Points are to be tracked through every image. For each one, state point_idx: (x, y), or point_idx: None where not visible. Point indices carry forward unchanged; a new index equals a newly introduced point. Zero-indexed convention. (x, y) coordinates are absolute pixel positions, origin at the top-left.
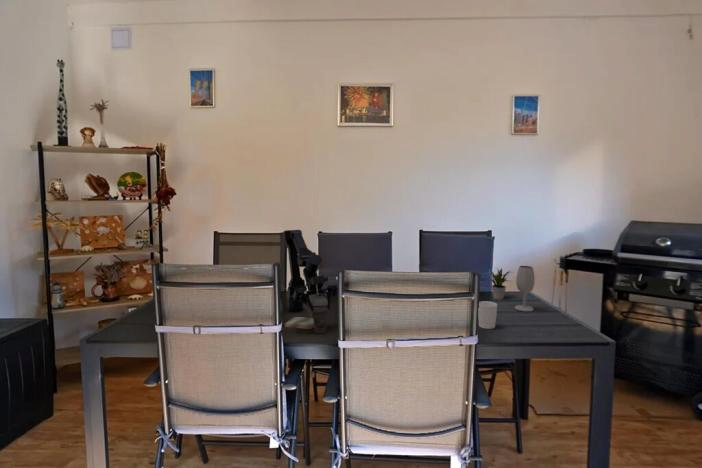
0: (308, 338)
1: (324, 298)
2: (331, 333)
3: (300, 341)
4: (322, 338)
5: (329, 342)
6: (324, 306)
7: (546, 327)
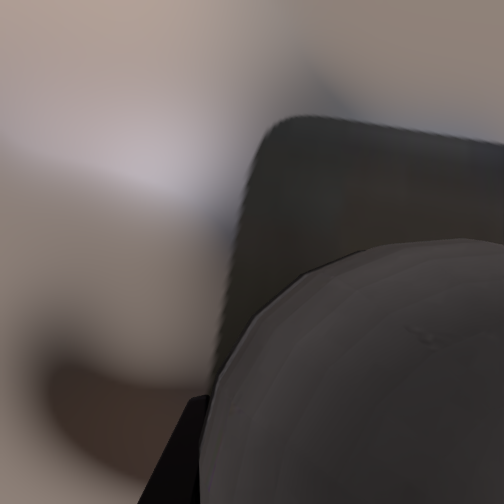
0: (435, 236)
1: (326, 362)
2: (234, 313)
3: (499, 185)
4: (322, 215)
5: (279, 130)
6: (315, 268)
7: None
